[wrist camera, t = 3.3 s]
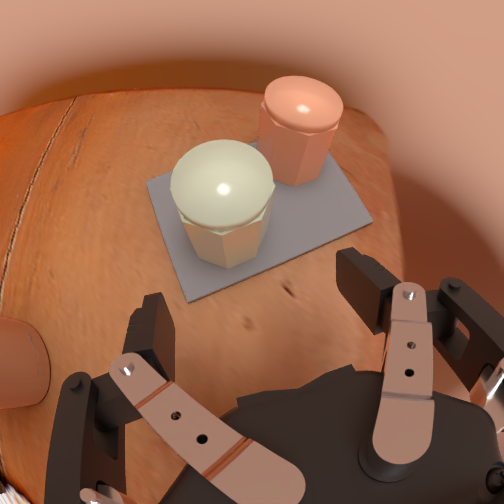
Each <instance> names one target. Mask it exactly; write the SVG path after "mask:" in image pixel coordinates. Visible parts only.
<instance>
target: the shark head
mask: <svg viewBox="0 0 504 504" xmlns="http://www.w3.org/2000/svg"><path fill="white" fill-rule="evenodd" d="M2 493H5V488H4V485H3V484H2V482H1V481H0V494H2Z"/></svg>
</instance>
